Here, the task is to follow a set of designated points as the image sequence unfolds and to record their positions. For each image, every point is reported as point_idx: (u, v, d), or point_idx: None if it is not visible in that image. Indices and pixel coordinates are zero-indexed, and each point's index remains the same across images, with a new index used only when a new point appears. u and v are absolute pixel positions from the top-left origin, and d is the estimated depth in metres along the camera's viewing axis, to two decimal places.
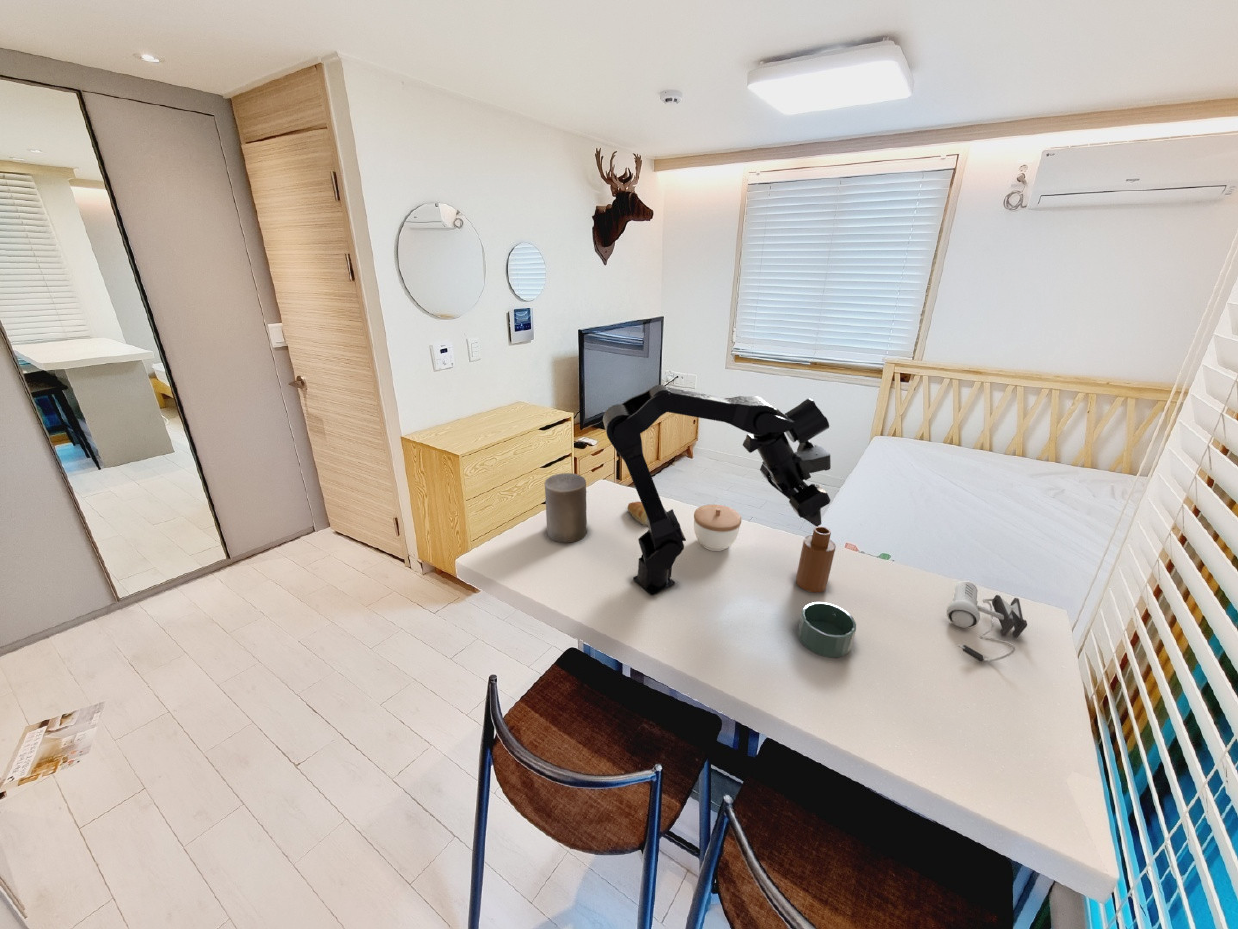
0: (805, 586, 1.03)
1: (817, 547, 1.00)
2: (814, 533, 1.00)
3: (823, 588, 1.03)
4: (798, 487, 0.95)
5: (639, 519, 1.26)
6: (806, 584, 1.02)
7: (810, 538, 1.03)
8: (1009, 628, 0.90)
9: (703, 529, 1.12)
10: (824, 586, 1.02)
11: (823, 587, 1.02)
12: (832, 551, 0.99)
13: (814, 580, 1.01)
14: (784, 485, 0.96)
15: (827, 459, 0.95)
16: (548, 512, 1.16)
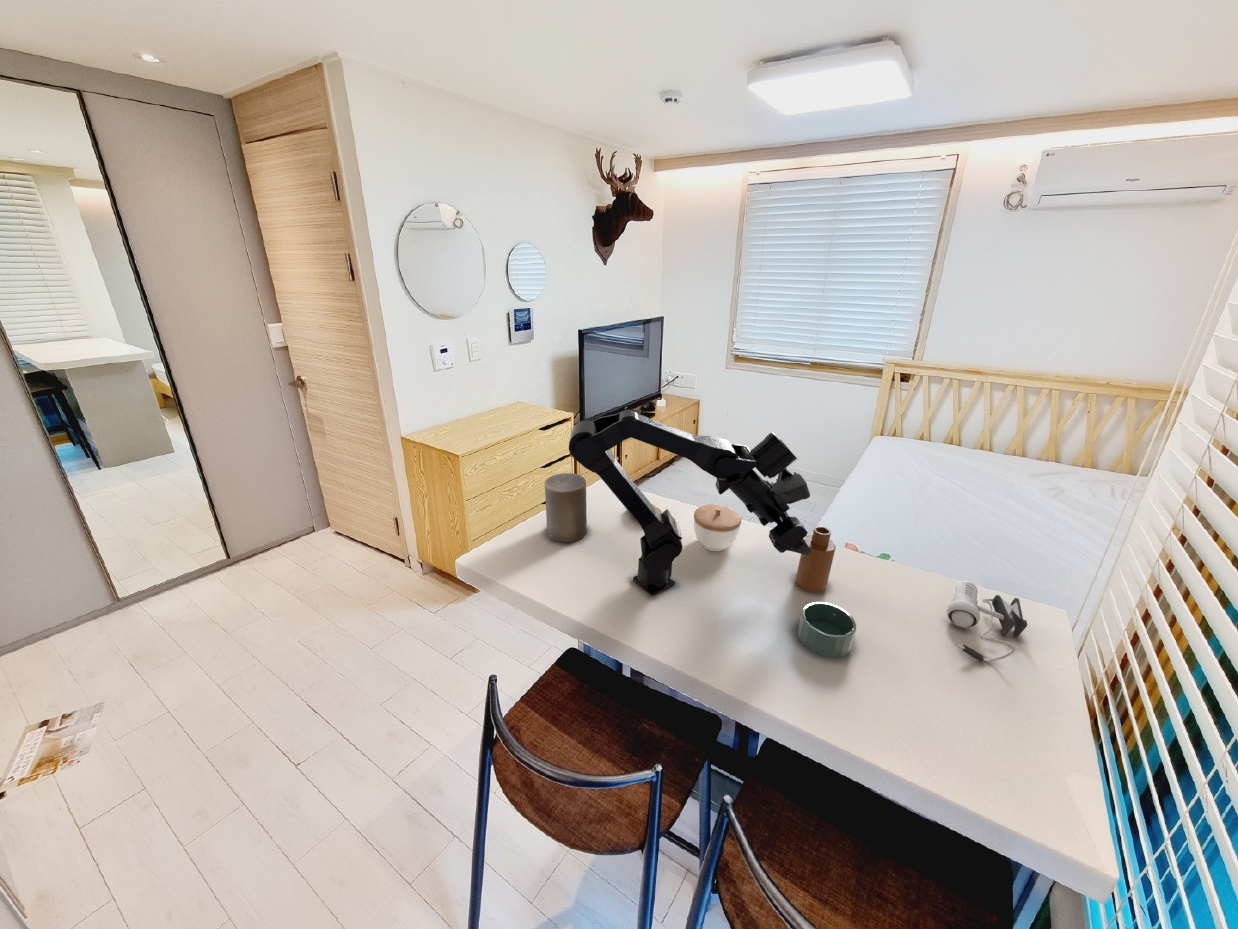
0: (805, 586, 1.03)
1: (817, 547, 1.00)
2: (814, 533, 1.00)
3: (823, 588, 1.03)
4: (778, 520, 0.94)
5: None
6: (806, 584, 1.02)
7: (810, 538, 1.03)
8: (1009, 628, 0.90)
9: (703, 529, 1.12)
10: (824, 586, 1.02)
11: (823, 587, 1.02)
12: (832, 551, 0.99)
13: (814, 580, 1.01)
14: (764, 519, 0.96)
15: (803, 488, 0.93)
16: (548, 512, 1.16)
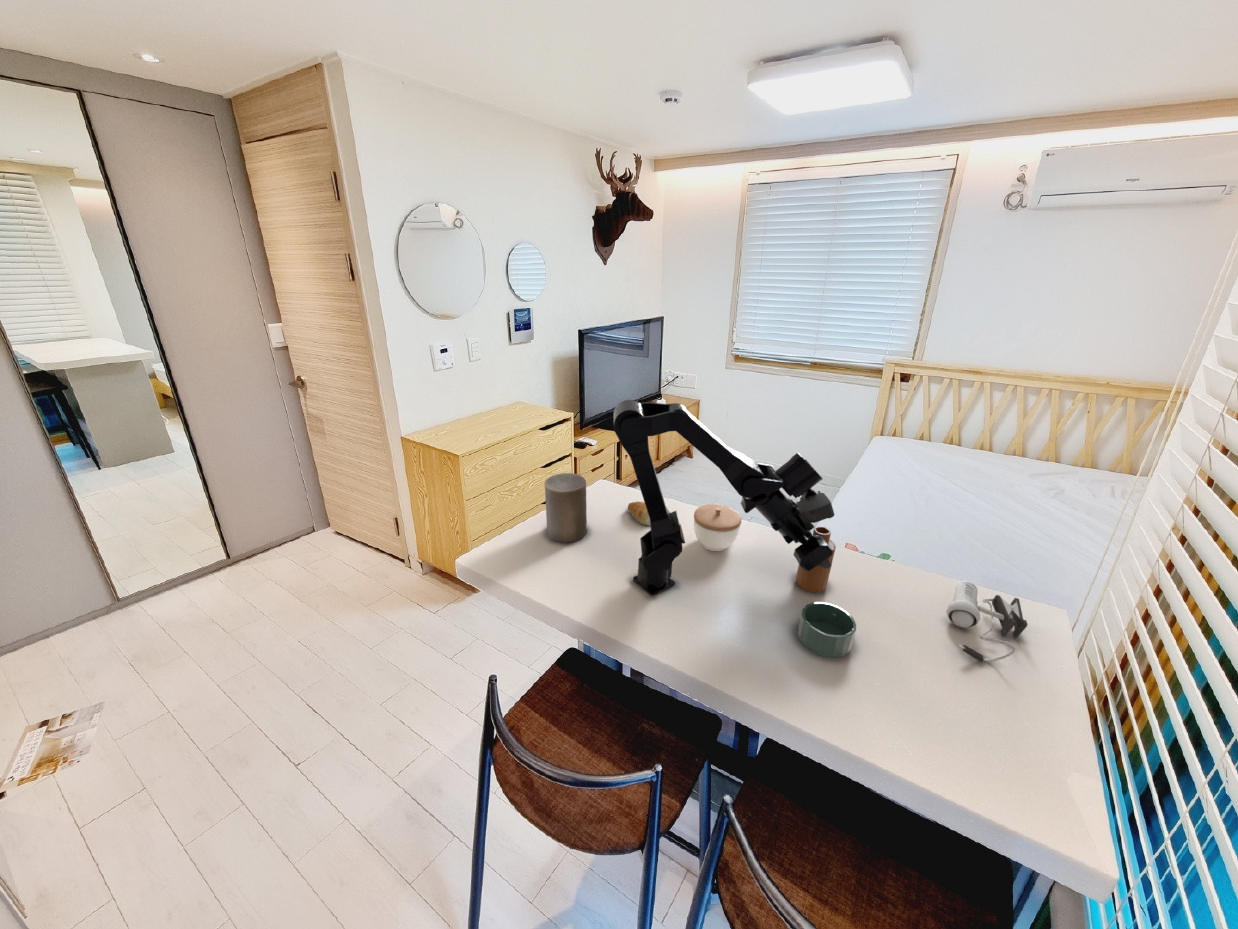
0: (805, 586, 1.03)
1: None
2: (814, 533, 1.00)
3: (823, 588, 1.03)
4: (802, 538, 0.96)
5: (639, 519, 1.26)
6: (806, 584, 1.02)
7: None
8: (1009, 628, 0.90)
9: (703, 529, 1.12)
10: (824, 586, 1.02)
11: (823, 587, 1.02)
12: None
13: (814, 580, 1.01)
14: (789, 537, 0.98)
15: (828, 508, 0.95)
16: (548, 512, 1.16)
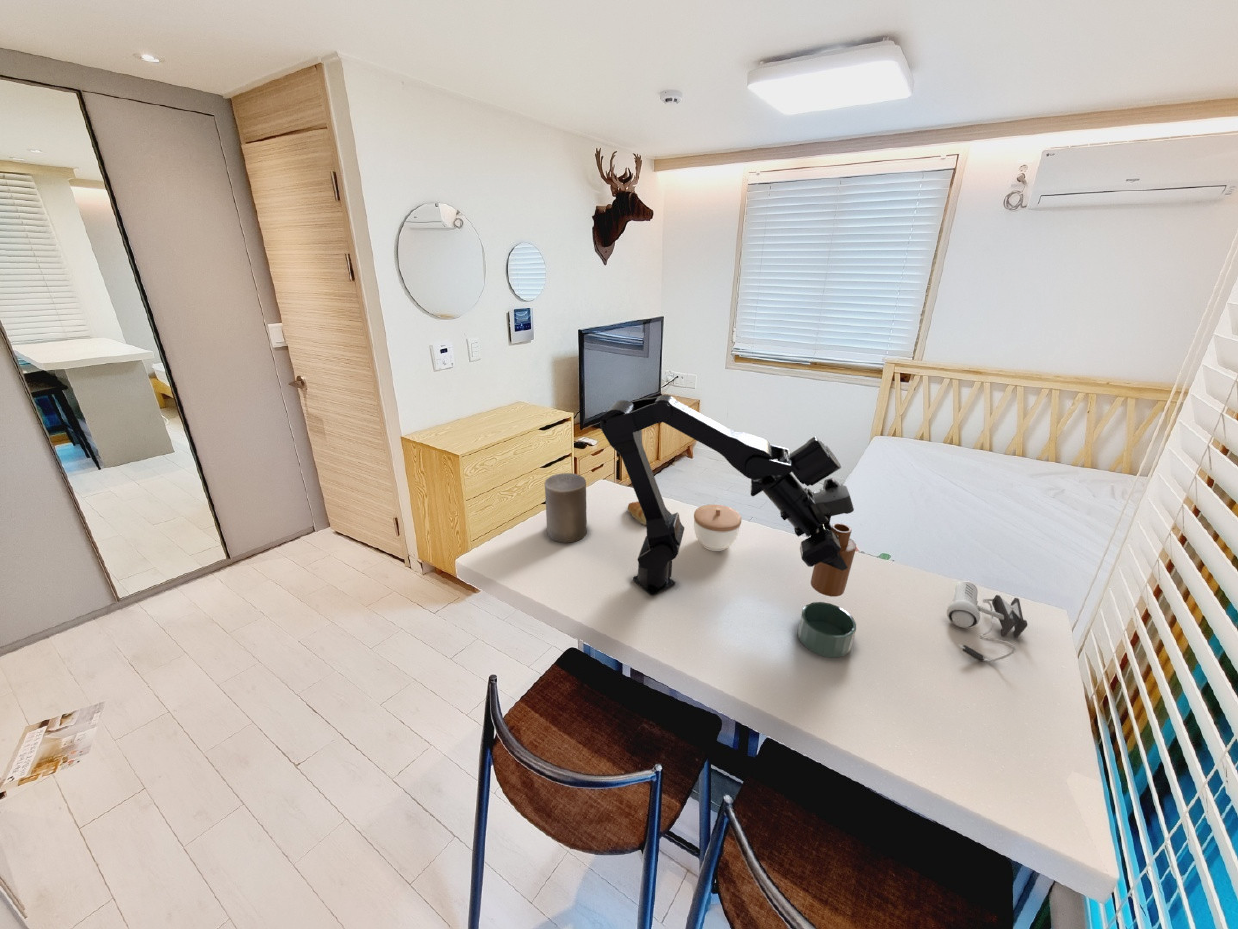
0: (818, 587, 0.93)
1: None
2: (831, 529, 0.90)
3: (838, 593, 0.92)
4: (813, 532, 0.88)
5: (639, 519, 1.26)
6: (819, 585, 0.93)
7: None
8: (1009, 628, 0.90)
9: (703, 529, 1.12)
10: (840, 591, 0.92)
11: (838, 591, 0.92)
12: (849, 552, 0.89)
13: (827, 582, 0.92)
14: (799, 529, 0.89)
15: (845, 501, 0.85)
16: (548, 512, 1.16)
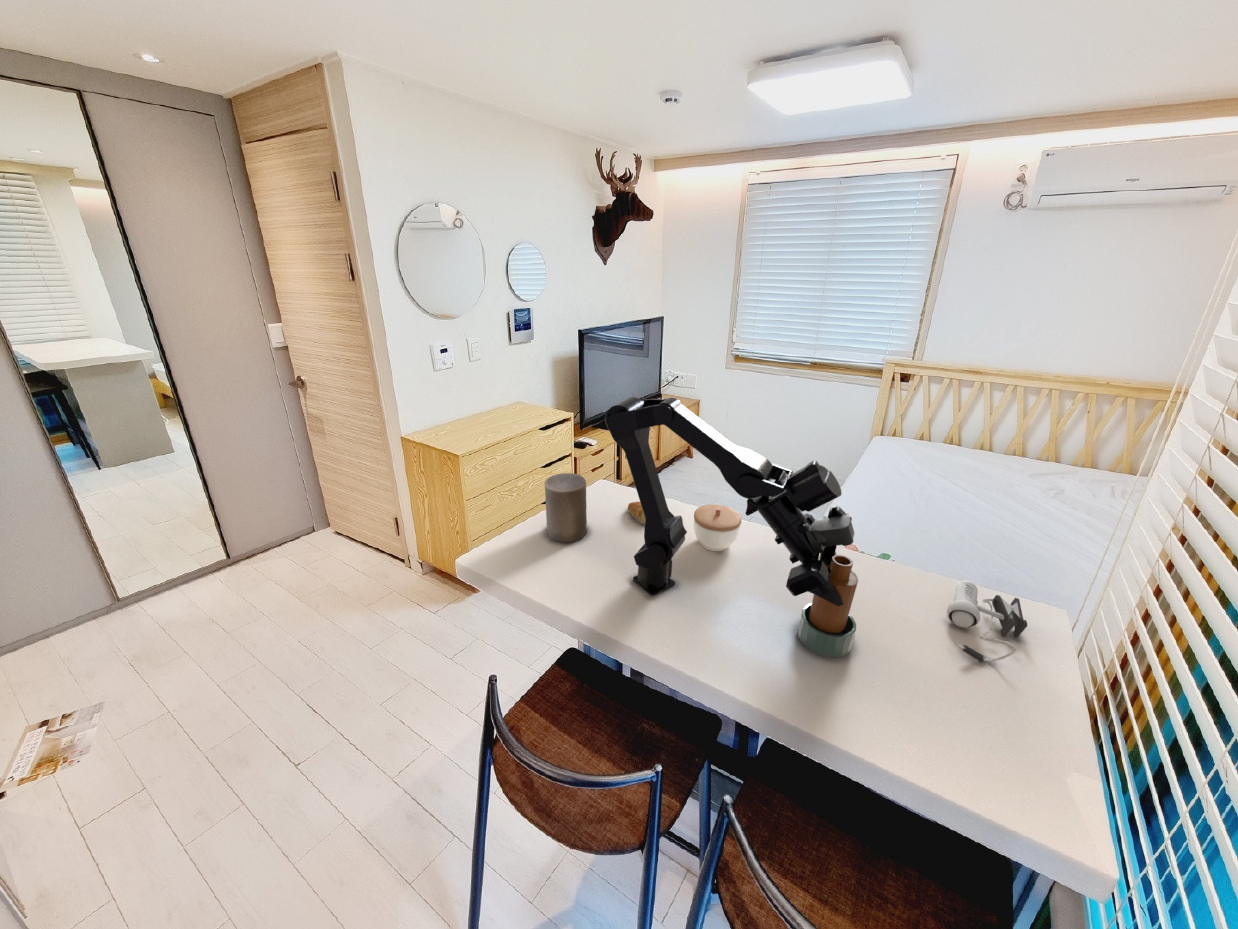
0: (814, 620, 0.88)
1: (830, 578, 0.84)
2: (831, 561, 0.84)
3: (835, 629, 0.86)
4: (806, 560, 0.83)
5: (639, 519, 1.26)
6: (815, 618, 0.87)
7: None
8: (1009, 628, 0.90)
9: (703, 529, 1.12)
10: (837, 627, 0.86)
11: (835, 628, 0.86)
12: (847, 587, 0.82)
13: (823, 616, 0.86)
14: (794, 556, 0.85)
15: (842, 532, 0.79)
16: (548, 512, 1.16)
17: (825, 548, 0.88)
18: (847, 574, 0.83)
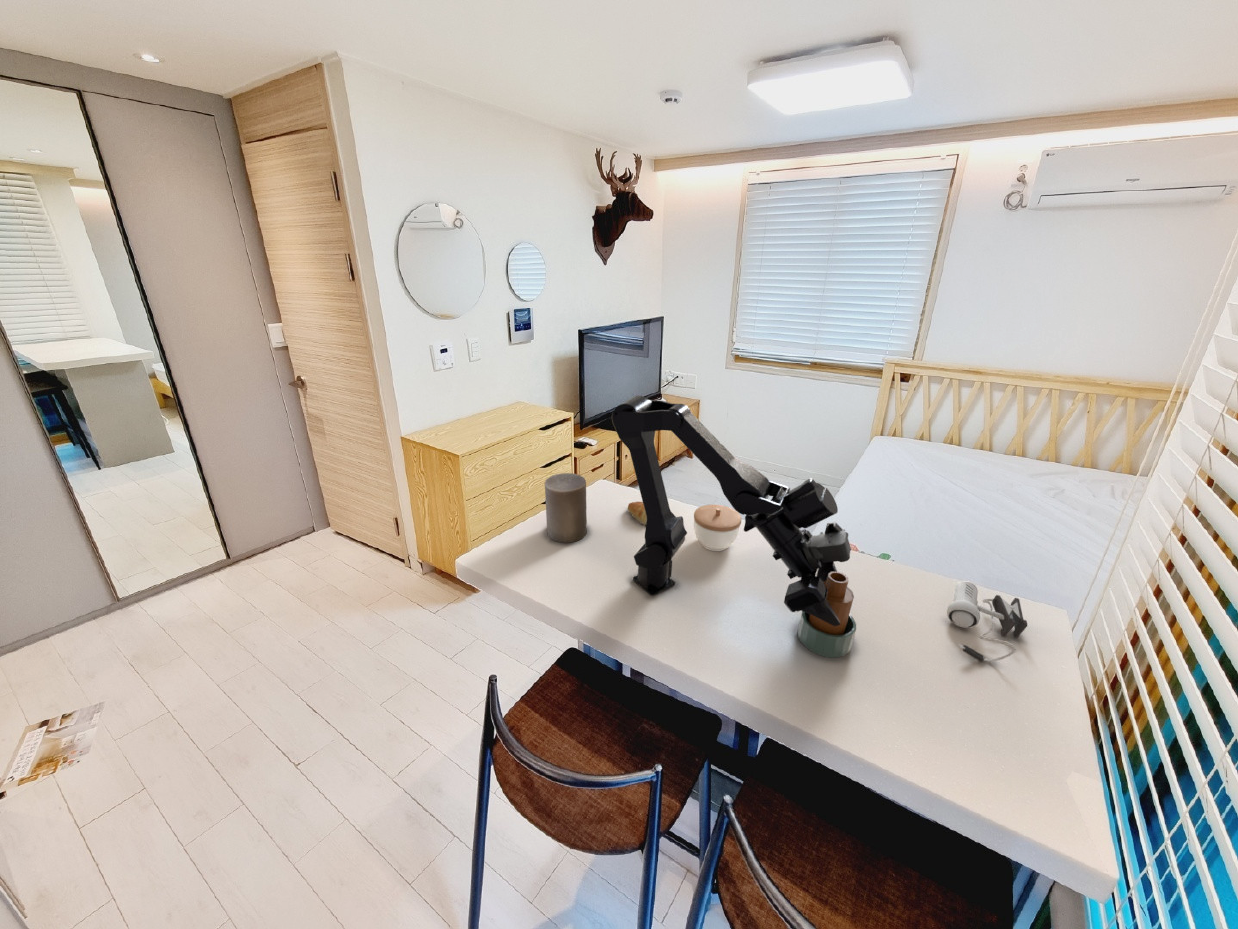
0: None
1: (827, 594, 0.85)
2: (827, 577, 0.86)
3: None
4: (803, 576, 0.84)
5: (639, 519, 1.26)
6: None
7: None
8: (1009, 628, 0.90)
9: (703, 529, 1.12)
10: None
11: None
12: (843, 604, 0.84)
13: None
14: (791, 571, 0.86)
15: (839, 549, 0.81)
16: (548, 512, 1.16)
17: None
18: (843, 591, 0.84)
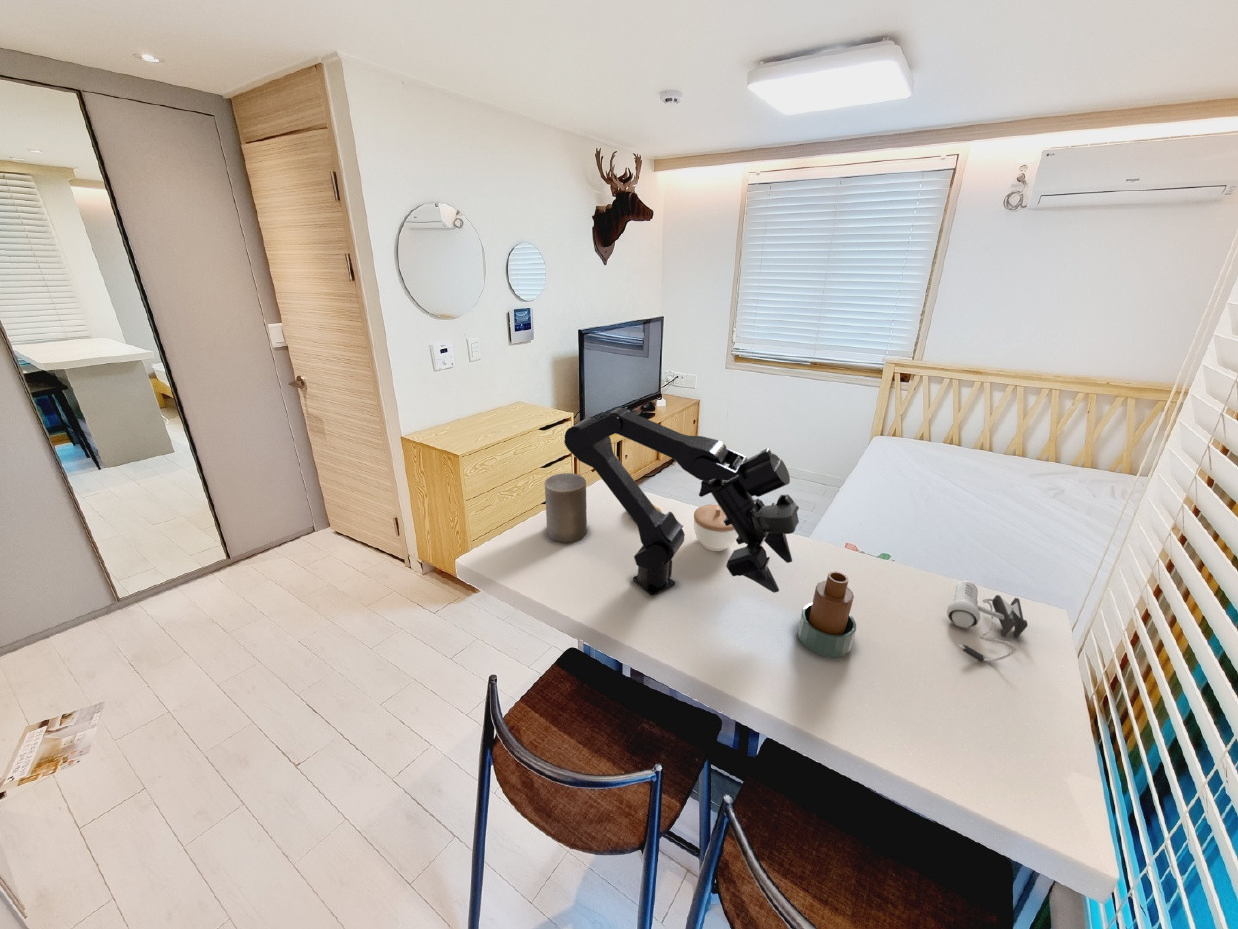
0: None
1: (827, 594, 0.85)
2: (827, 577, 0.86)
3: None
4: (749, 544, 0.87)
5: None
6: None
7: None
8: (1009, 628, 0.90)
9: (703, 529, 1.12)
10: None
11: None
12: (843, 604, 0.84)
13: None
14: (740, 538, 0.89)
15: (784, 521, 0.83)
16: (548, 512, 1.16)
17: None
18: (843, 591, 0.84)
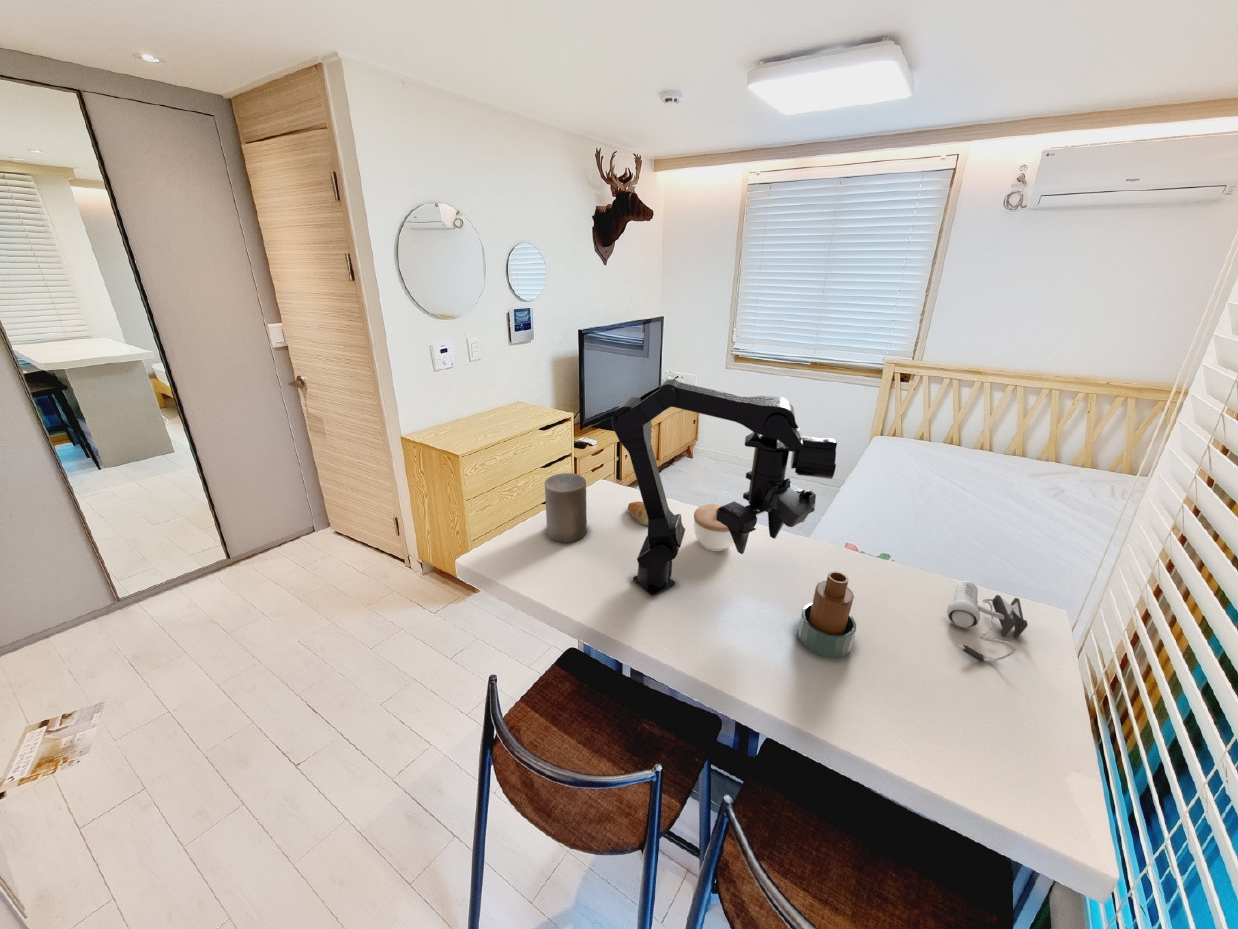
0: None
1: (827, 594, 0.85)
2: (827, 577, 0.86)
3: None
4: (750, 506, 0.89)
5: (639, 519, 1.26)
6: None
7: None
8: (1009, 628, 0.90)
9: (703, 529, 1.12)
10: None
11: None
12: (843, 604, 0.84)
13: None
14: (748, 494, 0.90)
15: (791, 515, 0.83)
16: (548, 512, 1.16)
17: None
18: (843, 591, 0.84)
